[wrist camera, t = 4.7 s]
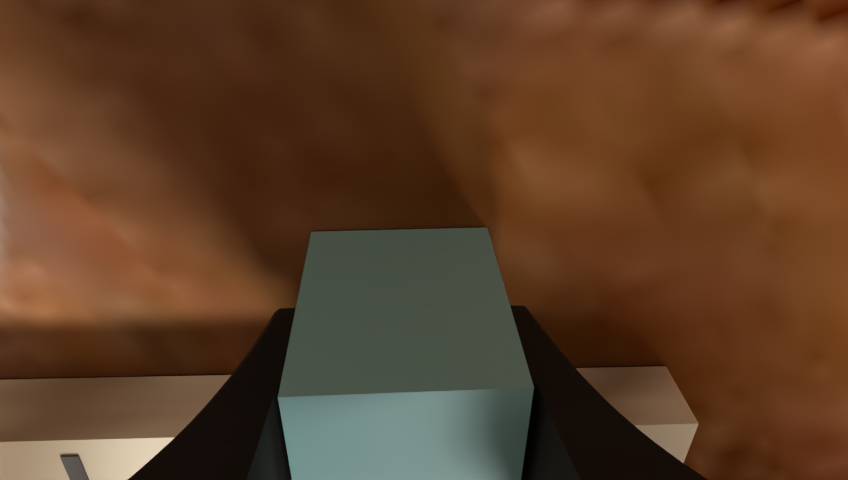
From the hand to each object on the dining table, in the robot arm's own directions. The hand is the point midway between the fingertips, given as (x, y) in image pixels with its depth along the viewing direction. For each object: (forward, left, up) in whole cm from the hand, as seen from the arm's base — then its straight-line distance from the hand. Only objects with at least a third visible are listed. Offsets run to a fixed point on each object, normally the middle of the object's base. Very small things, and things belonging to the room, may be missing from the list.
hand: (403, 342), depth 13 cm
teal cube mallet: (0, +3, -2) cm, 3 cm away
